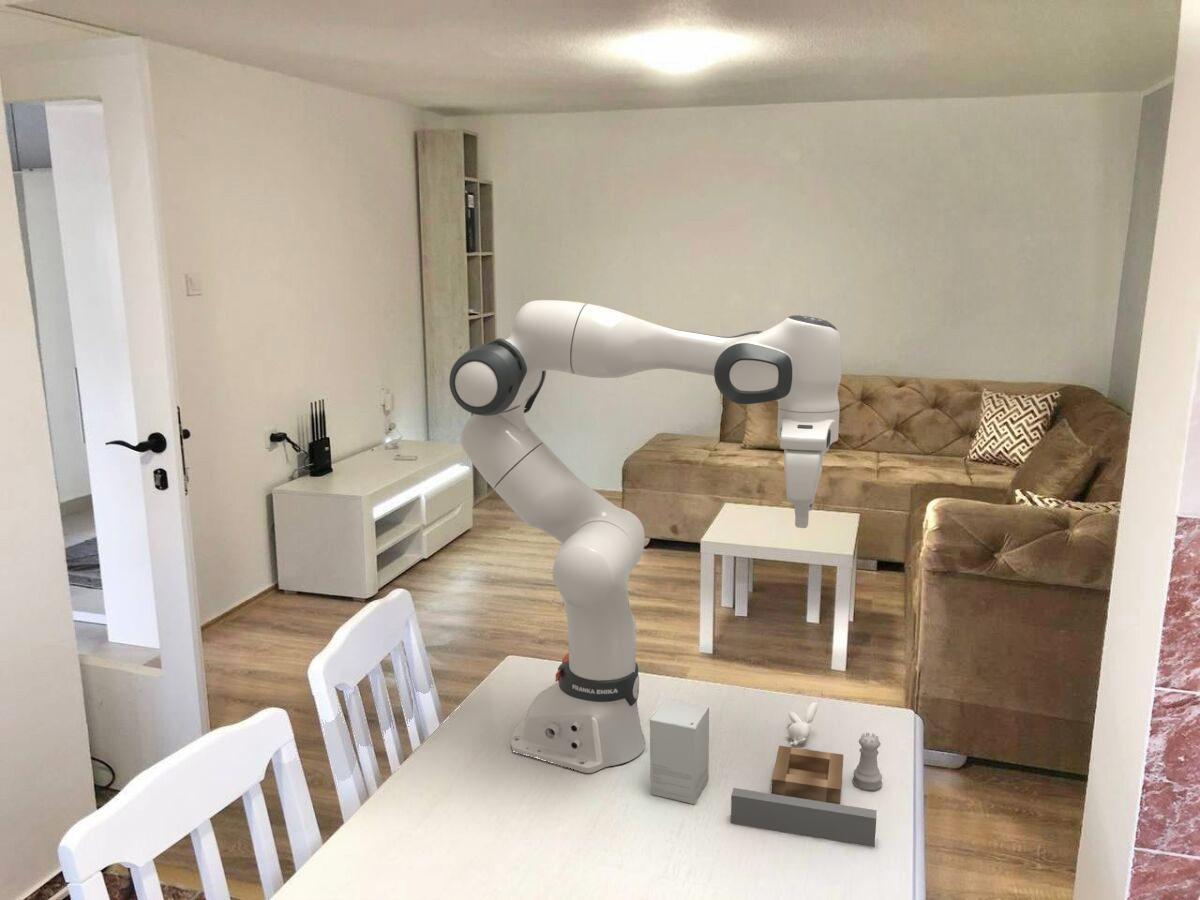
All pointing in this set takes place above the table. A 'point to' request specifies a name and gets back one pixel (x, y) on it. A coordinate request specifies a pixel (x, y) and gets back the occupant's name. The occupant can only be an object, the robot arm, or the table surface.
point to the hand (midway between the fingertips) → (804, 517)
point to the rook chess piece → (868, 764)
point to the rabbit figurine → (801, 724)
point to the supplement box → (679, 751)
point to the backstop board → (804, 817)
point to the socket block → (808, 774)
